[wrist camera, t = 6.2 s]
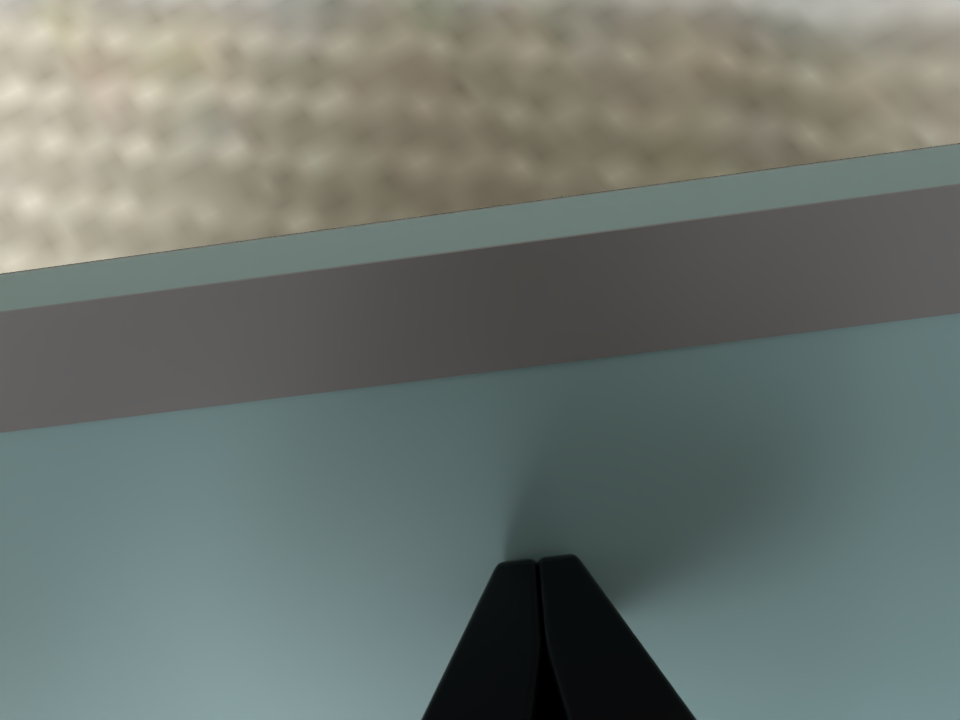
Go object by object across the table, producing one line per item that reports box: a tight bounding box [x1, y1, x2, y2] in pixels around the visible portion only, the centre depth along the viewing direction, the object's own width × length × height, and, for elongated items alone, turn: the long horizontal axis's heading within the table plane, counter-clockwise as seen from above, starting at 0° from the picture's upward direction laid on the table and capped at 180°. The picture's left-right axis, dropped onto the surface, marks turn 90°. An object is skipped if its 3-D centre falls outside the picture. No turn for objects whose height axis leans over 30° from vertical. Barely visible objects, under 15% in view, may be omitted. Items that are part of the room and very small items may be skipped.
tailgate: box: [0, 143, 960, 720], centre depth 11 cm, size 2×14×10 cm
